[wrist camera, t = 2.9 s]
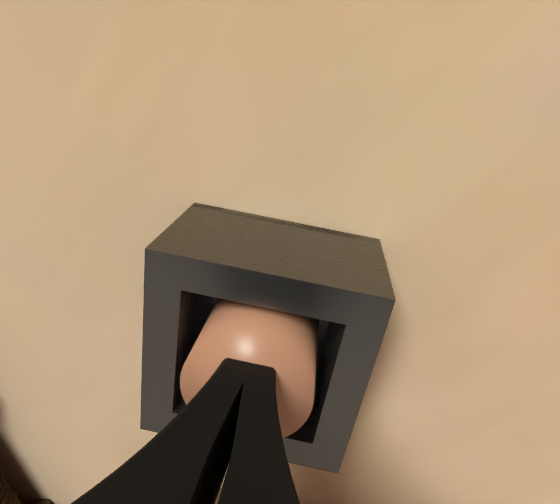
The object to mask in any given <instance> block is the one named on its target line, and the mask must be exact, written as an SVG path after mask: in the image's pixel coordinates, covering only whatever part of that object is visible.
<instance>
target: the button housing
mask: <svg viewBox="0 0 560 504" xmlns="http://www.w3.org/2000/svg"><path fill="white" fill-rule="evenodd" d="M218 298H220V299H225V300H230V301H234V302H239V303H244V304H249V305H254V306H258V307H263V308H268V309H273V310H277V311H282V312H287V313H292V314H297V315H301V316H306V317H311V318H316V319H319V329H318V344H317V360H316V375H315V390H314V403H313V408H312V411H311V414H310V416H309V417H308V419H307V421H306V422H305V423H304V424H303V426H301V427H300V428H299V429H298V430H297V431H295V432H294V433H293V434H291V435H289V436H287V437H285V438H283V443H284V447H285V452H286V456H287V460H288V462H290V463H294V464H299V465H303V466H307V467H312V468H316V469H321V470H325V471H329V472H334V473H338V472H339V469H340V466H341V463H342V460H343V457H344V454H345V451H346V448H347V445H348V442H349V439H350V436H351V433H352V430H353V427H354V424H355V421H356V418H357V415H358V412H359V409H360V406H361V403H362V399H363V396H364V393H365V390H366V387H367V384H368V381H369V378H370V375H371V372H372V369H373V366H374V363H375V360H376V357H377V354H378V351H379V348H380V345H381V342H382V339H383V336H384V333H385V330H386V327H387V324H388V321H389V318H390V315H391V312H392V309H393V306H394V303H395V296H394V293H393V289H392V285H391V281H390V277H389V274H388V270H387V266H386V262H385V259H384V255H383V251H382V247H381V244H380V240H379V239H375V238H369V237H364V236H359V235H354V234H349V233H344V232H339V231H334V230H329V229H324V228H319V227H314V226H309V225H304V224H299V223H294V222H289V221H284V220H279V219H274V218H269V217H264V216H259V215H254V214H249V213H244V212H239V211H234V210H229V209H223V208H218V207H213V206H208V205H203V204H198V203H194V204H193V205H192V206H191V207H189V208H188V209H187V210H186V211H185V212H184V213H183V214H182V215H181V216H180V217H179V218H178V219H176V220H175V221H174V222H173V223H172V224H171V225H170V226H169V227H168V228H167V229H166V230H165V231H164V232H162V233H161V234H160V235H159V236H158V237H157V238H156V239H155V240H154V241H153V242H152V243H151V244H149V245H148V246H147V247H146V248H145V269H144V308H143V346H142V385H141V423H140V429H144V430H148V431H153V432H157V433H159V432H160V431H161V430H162V429H163V428H164V427H165V426H166V425H167V424H168V423H169V422H170V421H171V420H172V419H173V418H174V417H175V416H176V415H177V414H178V413H179V412H180V411H181V410H182V409H183V408H184V407H185V406H186V403H185V401H184V399H183V397H182V393H181V389H180V375H181V371H182V368H183V365H184V363H185V361H186V359H187V357H188V355H189V354H190V352H191V350H192V348H193V346H194V344H195V342H196V340H197V338H198V336H199V334H200V332H201V330H202V328H203V327H204V325H205V323H206V321H207V319H208V317H209V315H210V313H211V311H212V309H213V307H214V305H215V303H216V302H217V300H218Z"/></svg>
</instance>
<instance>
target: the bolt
mask: <svg viewBox="0 0 560 504" xmlns="http://www.w3.org/2000/svg"><path fill="white" fill-rule="evenodd" d="M0 504H53V503H52V501H51V500H50V499H35V500H19V499H18V497H17V495H16V494H15V492H14V491H13V490H11V489H9V487H8V485H7V484H6V482H5V481H4V479H3V478H2V475H1V474H0Z"/></svg>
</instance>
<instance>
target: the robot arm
mask: <svg viewBox="0 0 560 504" xmlns="http://www.w3.org/2000/svg"><path fill="white" fill-rule="evenodd" d="M228 465H229V466H228ZM227 467H228V469H227ZM226 470H227V473H226ZM225 473H226V476H225ZM224 476H225V480H224V483H223V486H222V490H221V493H220V497H219V500H218V503H217V504H300V503H299V499H298V496H297V493H296V490H295V486H294V483H293V479H292V476H291V472H290V468H289V464H288V460H287V456H286V452H285V447H284V443H283V438H282V432H281V427H280V421H279V415H278V408H277V398H276V371H275V369H274V368H273V367H269V366H264V365H259V364H254V363H250V362H245V361H241V360H236V359H231V358H226V359H224V360H223V361H222V362H221V364H220V365H219V367H218V368H217V369H216V371H215V372H214V373H213V375H212V376H211V377H210V379H209V380H208V381H207V382H206V383H205V385H204V386H203V387H202V388H201V389H200V391H199V392H198V393H197V394H196V395H195V396H194V397H193V398H192V399H191V400H190V402H189V403H188V404H187V405H186V406H185V407H184V408H183V409H182V410H181V411H180V412H179V413H178V414H177V415H176V416H175V417H174V418H173V419H172V420H171V421H170V422H169V423H168V424H167V425H166V426H165V427H164V428H163V429H162V430H161V431H160V432H159V433H158V434H157V435H156V436H155V437H154V438H153V439H152V440H151V441H149V442H148V443H147V444H146V445H145V446H144V447H143V448H142V449H140V450H139V451H138V452H137V453H136V454H135V455H134V456H132V457H131V458H130V459H129V460H128V461H126V462H125V463H124V464H123V465H122V466H120V467H119V468H118V469H117V470H115V471H114V472H113V473H111V474H110V475H109V476H108V477H106V478H105V479H104V480H102V481H101V482H100V483H98V484H97V485H96V486H94V487H93V488H92V489H91V490H89V491H88V492H86V493H85V494H84V495H82V496H81V497H80V498H78V499H77V500H75V501H74V502H73V503H71V504H215V501H216V498H217V496H218V493H219V490H220V487H221V484H222V482H223V479H224Z"/></svg>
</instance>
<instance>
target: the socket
mask: <svg viewBox="0 0 560 504" xmlns="http://www.w3.org/2000/svg"><path fill="white" fill-rule="evenodd" d="M221 490H222V489H220V490H219V493H218V496H217V498H216V501H215V504H217V503H218V500H219V497H220V493H221Z"/></svg>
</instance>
